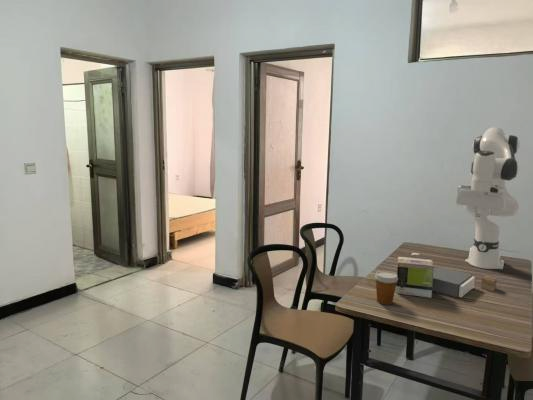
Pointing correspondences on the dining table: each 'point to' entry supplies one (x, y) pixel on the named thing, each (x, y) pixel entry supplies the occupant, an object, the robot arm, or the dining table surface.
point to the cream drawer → (466, 286)
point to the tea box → (414, 277)
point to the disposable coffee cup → (385, 286)
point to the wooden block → (488, 283)
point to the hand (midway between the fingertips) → (478, 216)
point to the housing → (448, 281)
